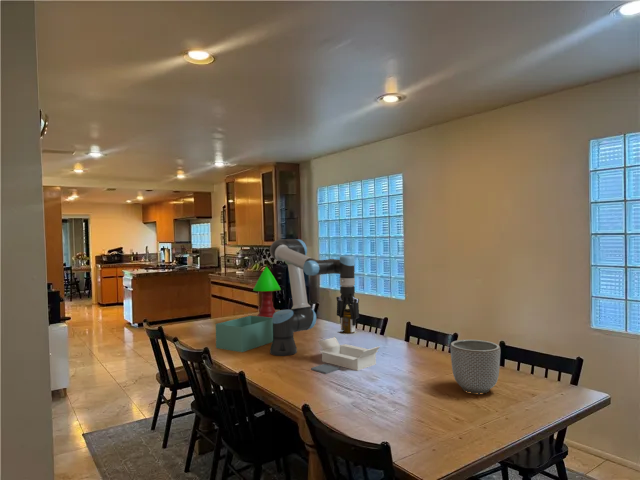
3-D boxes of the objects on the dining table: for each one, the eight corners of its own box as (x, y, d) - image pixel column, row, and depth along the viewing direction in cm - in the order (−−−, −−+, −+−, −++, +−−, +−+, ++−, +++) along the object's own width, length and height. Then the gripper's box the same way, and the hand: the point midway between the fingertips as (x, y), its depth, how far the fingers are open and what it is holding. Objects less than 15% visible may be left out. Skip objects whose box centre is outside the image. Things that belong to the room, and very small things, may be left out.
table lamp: (257, 326, 325) (256, 265, 325) (284, 326, 322) (283, 265, 322) (250, 332, 306) (248, 267, 305) (278, 332, 303) (276, 266, 302)
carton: (313, 361, 232) (313, 342, 232) (339, 353, 247) (339, 335, 247) (359, 373, 211) (358, 352, 210) (384, 364, 225) (384, 344, 225)
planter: (495, 402, 172) (495, 353, 172) (445, 393, 182) (444, 347, 182) (504, 387, 189) (504, 342, 188) (457, 379, 199) (457, 337, 199)
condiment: (358, 332, 228) (358, 309, 228) (345, 335, 223) (344, 311, 223) (349, 330, 234) (349, 307, 234) (336, 332, 229) (336, 309, 229)
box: (215, 348, 264) (215, 324, 264) (251, 337, 291) (250, 315, 291) (242, 352, 253) (241, 327, 253) (276, 341, 280) (276, 318, 280)
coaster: (311, 369, 218) (311, 368, 218) (325, 365, 225) (325, 363, 225) (325, 373, 211) (325, 372, 211) (339, 369, 218) (339, 367, 218)
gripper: (328, 285, 232) (329, 329, 233) (356, 288, 219) (357, 334, 219) (338, 284, 238) (339, 327, 238) (366, 286, 224) (367, 332, 224)
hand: (347, 330), depth 229 cm, fingers closed on condiment, 6 cm apart
